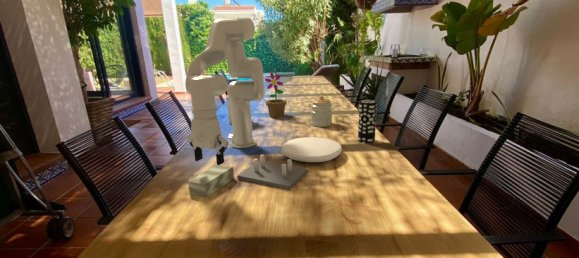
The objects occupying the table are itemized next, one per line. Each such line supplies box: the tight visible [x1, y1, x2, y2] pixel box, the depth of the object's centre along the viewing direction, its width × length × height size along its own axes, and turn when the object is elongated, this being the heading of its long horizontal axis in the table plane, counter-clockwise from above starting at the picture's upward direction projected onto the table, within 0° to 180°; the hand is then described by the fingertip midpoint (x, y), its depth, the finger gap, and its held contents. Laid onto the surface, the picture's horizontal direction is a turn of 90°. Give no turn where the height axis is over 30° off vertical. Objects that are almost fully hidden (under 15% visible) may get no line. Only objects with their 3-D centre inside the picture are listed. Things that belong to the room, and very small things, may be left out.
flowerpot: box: [264, 72, 288, 119], centre depth 203 cm, size 14×14×30 cm
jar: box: [310, 95, 333, 128], centre depth 182 cm, size 13×13×18 cm
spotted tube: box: [357, 99, 378, 144], centre depth 149 cm, size 8×8×20 cm
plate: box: [281, 136, 343, 163], centre depth 135 cm, size 28×6×27 cm
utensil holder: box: [225, 94, 251, 125], centre depth 192 cm, size 15×15×18 cm
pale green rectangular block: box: [187, 164, 235, 198], centre depth 109 cm, size 16×7×5 cm, turn 154°
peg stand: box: [236, 154, 309, 191], centre depth 115 cm, size 22×16×6 cm
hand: (209, 161), depth 106 cm, fingers open, 9 cm apart
